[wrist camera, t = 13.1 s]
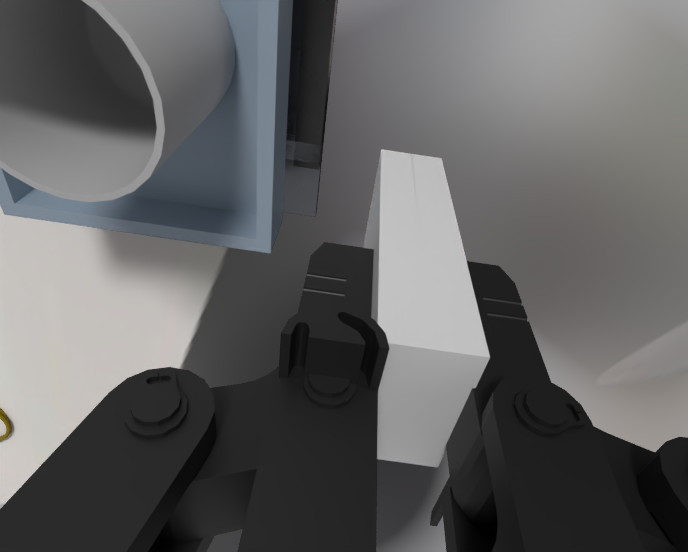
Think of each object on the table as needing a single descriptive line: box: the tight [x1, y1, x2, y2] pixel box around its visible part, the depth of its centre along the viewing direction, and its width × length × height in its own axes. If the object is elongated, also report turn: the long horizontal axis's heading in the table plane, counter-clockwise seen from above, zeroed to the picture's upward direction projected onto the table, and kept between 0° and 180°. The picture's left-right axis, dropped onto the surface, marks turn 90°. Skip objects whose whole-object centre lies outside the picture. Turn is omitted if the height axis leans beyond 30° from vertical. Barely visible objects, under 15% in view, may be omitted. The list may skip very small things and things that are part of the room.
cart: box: [0, 0, 293, 253], centre depth 21 cm, size 15×19×6 cm
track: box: [283, 0, 338, 217], centre depth 25 cm, size 30×22×2 cm
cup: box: [0, 0, 235, 202], centre depth 17 cm, size 7×10×9 cm
